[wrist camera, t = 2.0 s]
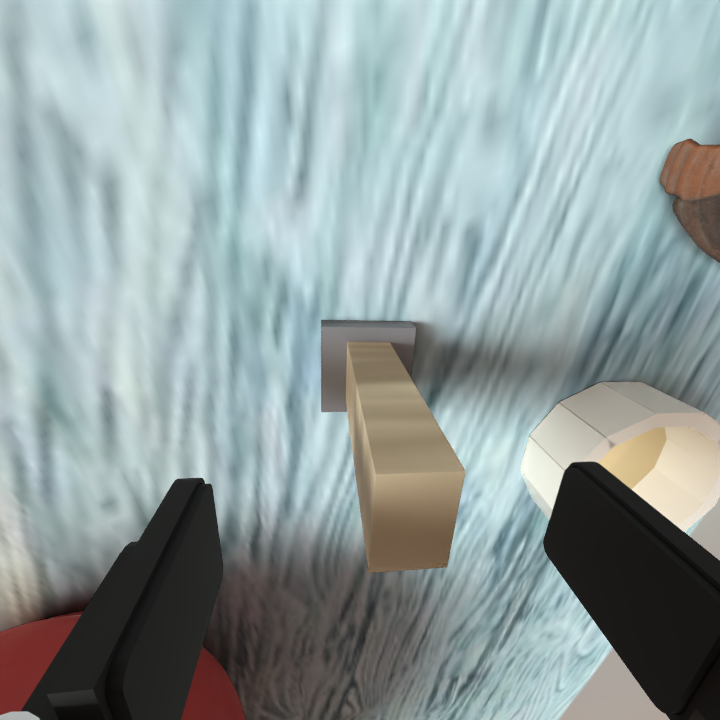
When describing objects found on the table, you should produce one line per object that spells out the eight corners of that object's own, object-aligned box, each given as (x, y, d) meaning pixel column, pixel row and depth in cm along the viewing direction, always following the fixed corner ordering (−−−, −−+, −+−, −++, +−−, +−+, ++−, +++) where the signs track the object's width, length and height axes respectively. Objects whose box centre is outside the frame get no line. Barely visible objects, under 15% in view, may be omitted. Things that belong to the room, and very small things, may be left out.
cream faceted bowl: (543, 382, 19) (589, 414, 15) (694, 381, 20) (766, 411, 17) (508, 512, 22) (540, 561, 19) (638, 506, 23) (689, 550, 20)
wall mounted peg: (321, 320, 16) (319, 449, 7) (410, 321, 17) (523, 443, 7) (321, 400, 18) (319, 595, 8) (402, 399, 18) (487, 582, 9)
